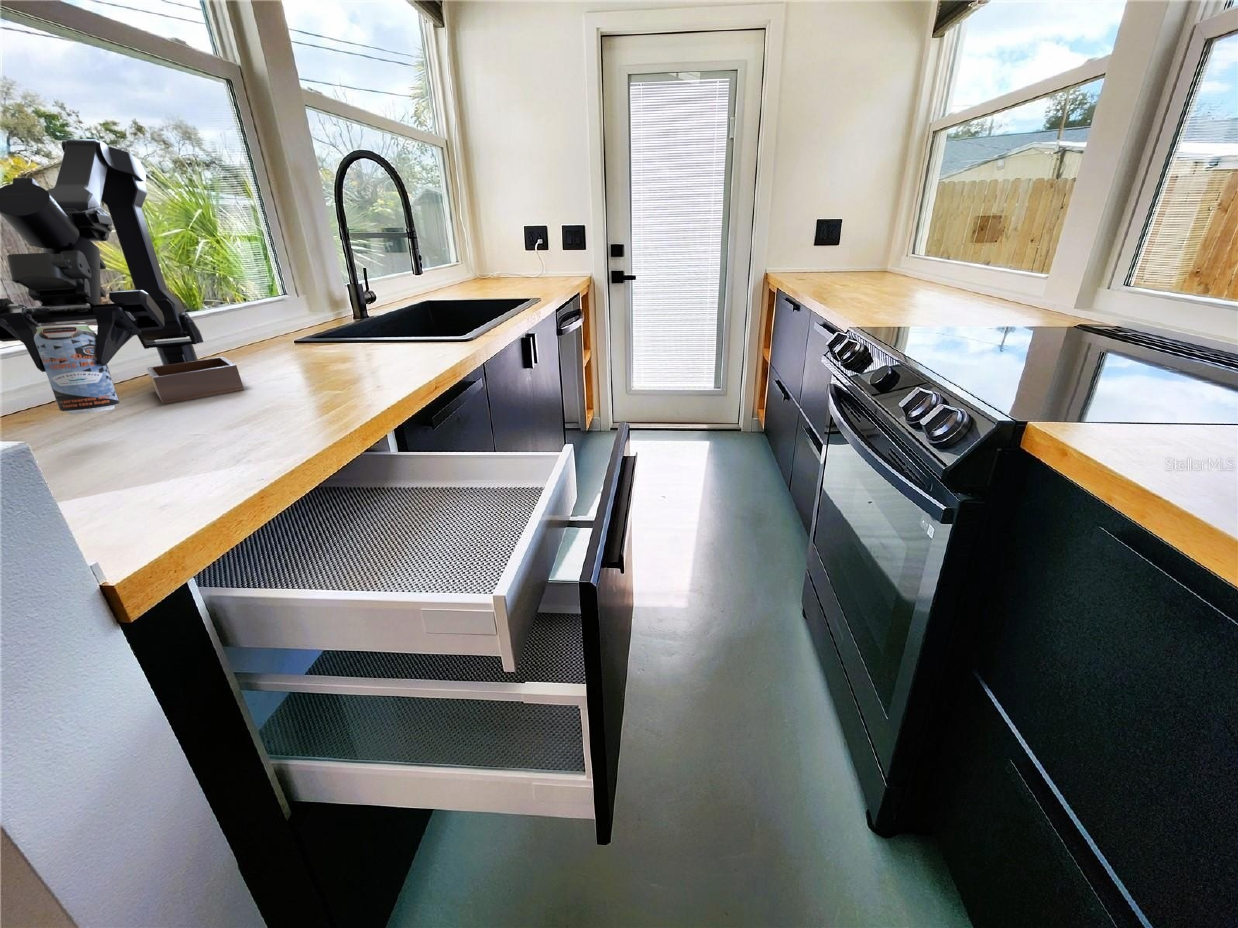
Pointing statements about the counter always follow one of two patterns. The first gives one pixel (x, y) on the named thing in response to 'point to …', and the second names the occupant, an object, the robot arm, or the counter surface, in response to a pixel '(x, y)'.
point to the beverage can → (75, 369)
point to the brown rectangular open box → (195, 379)
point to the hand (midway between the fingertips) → (71, 367)
